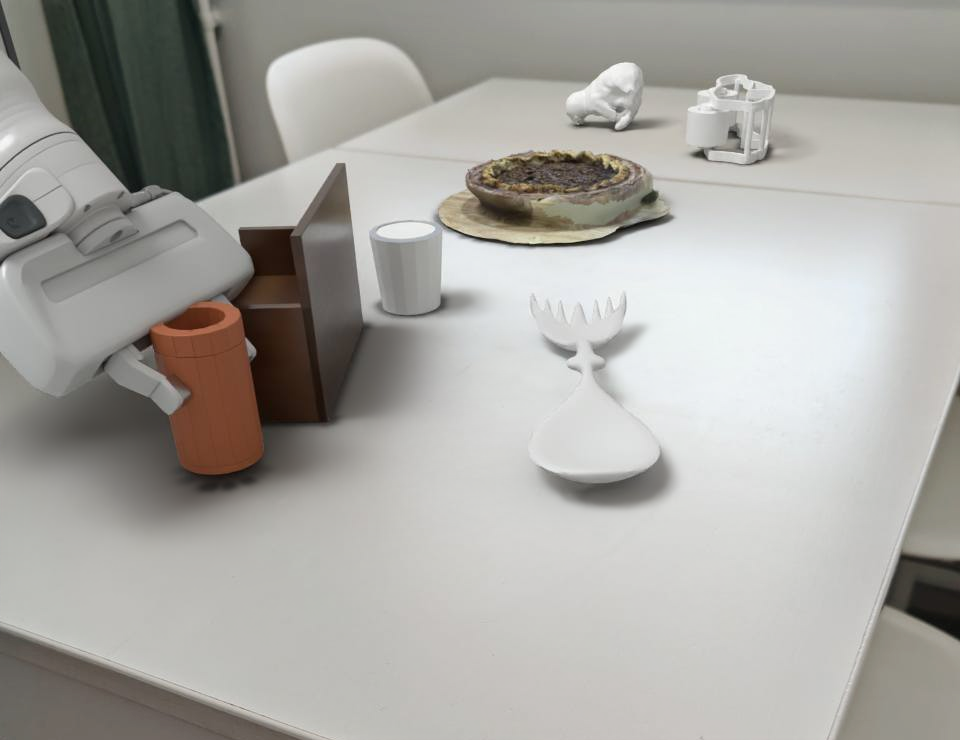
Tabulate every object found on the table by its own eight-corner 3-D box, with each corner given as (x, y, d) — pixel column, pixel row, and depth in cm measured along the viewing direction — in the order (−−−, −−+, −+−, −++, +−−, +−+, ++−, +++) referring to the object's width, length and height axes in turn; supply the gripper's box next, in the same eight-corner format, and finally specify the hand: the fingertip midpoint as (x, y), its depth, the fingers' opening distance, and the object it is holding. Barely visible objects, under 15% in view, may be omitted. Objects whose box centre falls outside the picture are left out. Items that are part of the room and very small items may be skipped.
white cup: (362, 304, 97) (353, 230, 93) (418, 287, 101) (412, 214, 96) (404, 323, 93) (397, 246, 89) (461, 304, 96) (457, 229, 92)
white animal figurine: (637, 65, 145) (557, 72, 149) (639, 130, 150) (562, 135, 154) (646, 57, 149) (568, 65, 153) (647, 120, 154) (572, 126, 158)
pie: (532, 262, 105) (532, 212, 102) (394, 208, 123) (390, 165, 120) (719, 209, 118) (724, 163, 115) (569, 167, 135) (569, 127, 132)
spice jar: (168, 474, 70) (134, 335, 64) (192, 434, 74) (162, 301, 68) (253, 475, 69) (227, 335, 63) (271, 434, 74) (249, 301, 68)
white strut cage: (697, 129, 150) (702, 73, 146) (773, 131, 147) (780, 74, 143) (679, 162, 135) (684, 101, 131) (763, 165, 133) (771, 103, 128)
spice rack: (201, 423, 78) (159, 238, 69) (257, 326, 94) (229, 165, 85) (327, 421, 78) (301, 235, 69) (363, 324, 93) (345, 162, 84)
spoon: (626, 323, 91) (628, 285, 89) (665, 505, 66) (669, 458, 64) (527, 326, 91) (527, 288, 89) (529, 507, 66) (528, 460, 64)
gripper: (148, 209, 75) (277, 353, 78) (-72, 301, 61) (97, 474, 63) (184, 149, 71) (319, 303, 73) (-44, 232, 56) (136, 421, 59)
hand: (215, 383), depth 68 cm, fingers closed on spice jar, 6 cm apart
